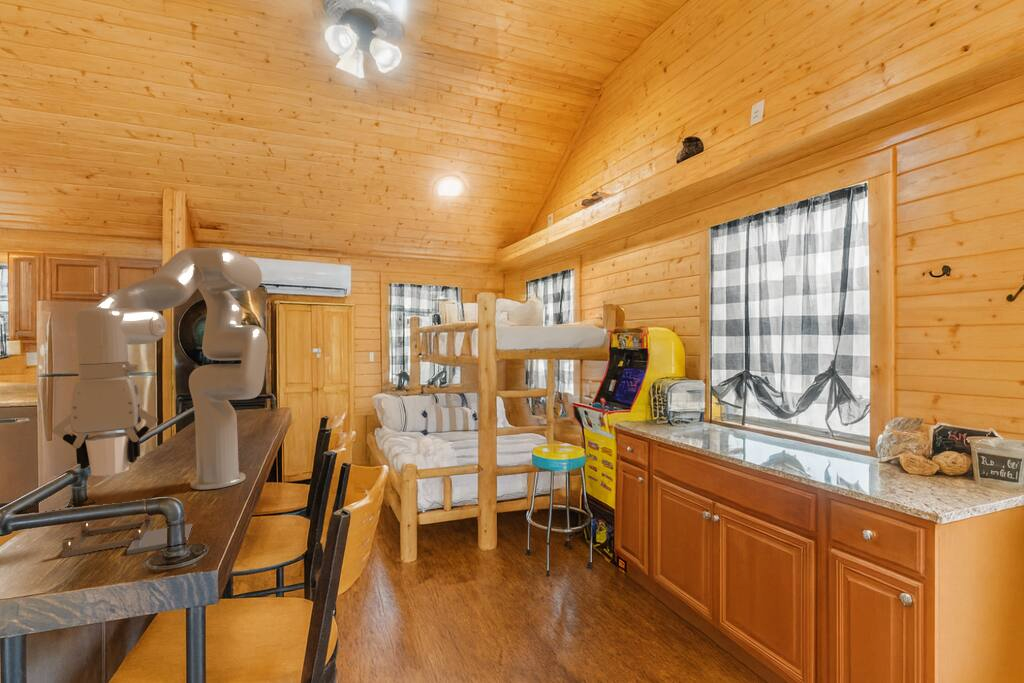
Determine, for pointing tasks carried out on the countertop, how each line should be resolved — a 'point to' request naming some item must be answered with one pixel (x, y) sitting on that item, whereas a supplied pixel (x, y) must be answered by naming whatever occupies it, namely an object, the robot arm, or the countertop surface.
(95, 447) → the shot glass
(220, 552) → the countertop surface
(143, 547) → the coaster
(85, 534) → the brown square frame
